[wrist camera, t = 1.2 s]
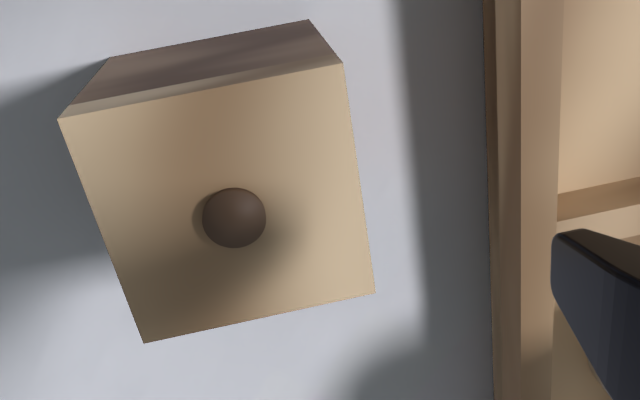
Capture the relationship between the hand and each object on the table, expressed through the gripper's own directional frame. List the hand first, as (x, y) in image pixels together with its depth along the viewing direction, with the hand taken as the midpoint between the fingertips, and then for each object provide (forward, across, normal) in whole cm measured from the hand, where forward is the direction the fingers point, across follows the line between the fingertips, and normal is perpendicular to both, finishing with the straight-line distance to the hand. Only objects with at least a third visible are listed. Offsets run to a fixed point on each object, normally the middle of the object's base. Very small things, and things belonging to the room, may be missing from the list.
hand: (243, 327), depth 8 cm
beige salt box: (+8, 0, 0) cm, 9 cm away
